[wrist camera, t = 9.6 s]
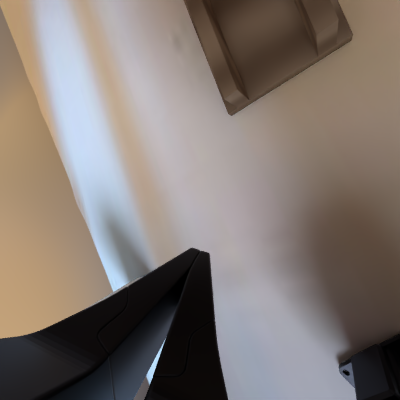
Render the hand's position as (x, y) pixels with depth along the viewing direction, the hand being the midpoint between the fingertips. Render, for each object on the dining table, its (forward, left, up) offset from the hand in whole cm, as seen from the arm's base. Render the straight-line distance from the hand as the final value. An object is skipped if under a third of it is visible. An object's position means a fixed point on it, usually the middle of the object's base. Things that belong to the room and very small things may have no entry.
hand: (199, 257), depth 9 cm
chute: (+13, -13, -13) cm, 22 cm away
